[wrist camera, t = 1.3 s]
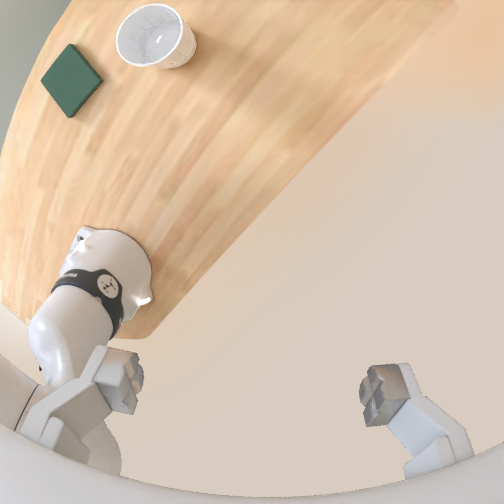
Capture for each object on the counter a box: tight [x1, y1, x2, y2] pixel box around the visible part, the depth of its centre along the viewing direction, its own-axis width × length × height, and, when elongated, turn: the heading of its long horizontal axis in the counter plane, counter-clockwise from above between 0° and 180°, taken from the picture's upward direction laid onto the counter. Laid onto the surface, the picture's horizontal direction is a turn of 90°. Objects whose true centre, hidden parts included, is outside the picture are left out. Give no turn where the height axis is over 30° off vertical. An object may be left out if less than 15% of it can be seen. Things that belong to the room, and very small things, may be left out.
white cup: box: [116, 4, 197, 69], centre depth 27 cm, size 8×8×10 cm
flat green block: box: [41, 44, 103, 118], centre depth 32 cm, size 8×10×1 cm
